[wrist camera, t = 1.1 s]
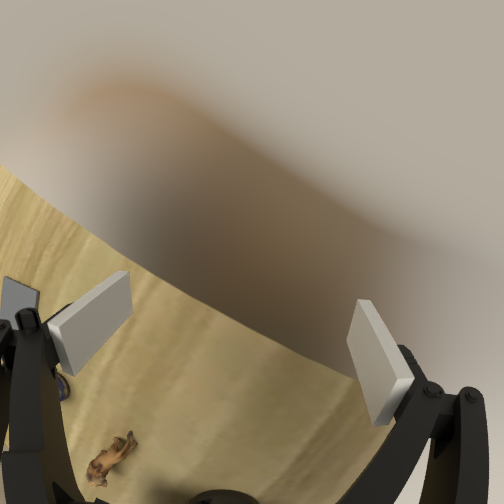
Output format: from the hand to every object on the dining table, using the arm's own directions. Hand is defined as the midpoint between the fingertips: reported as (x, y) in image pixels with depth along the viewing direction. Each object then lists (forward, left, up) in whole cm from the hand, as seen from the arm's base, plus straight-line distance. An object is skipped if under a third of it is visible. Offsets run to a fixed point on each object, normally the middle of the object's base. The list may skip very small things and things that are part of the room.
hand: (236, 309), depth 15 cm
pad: (-15, +45, -30) cm, 56 cm away
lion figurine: (-38, +17, -30) cm, 52 cm away
